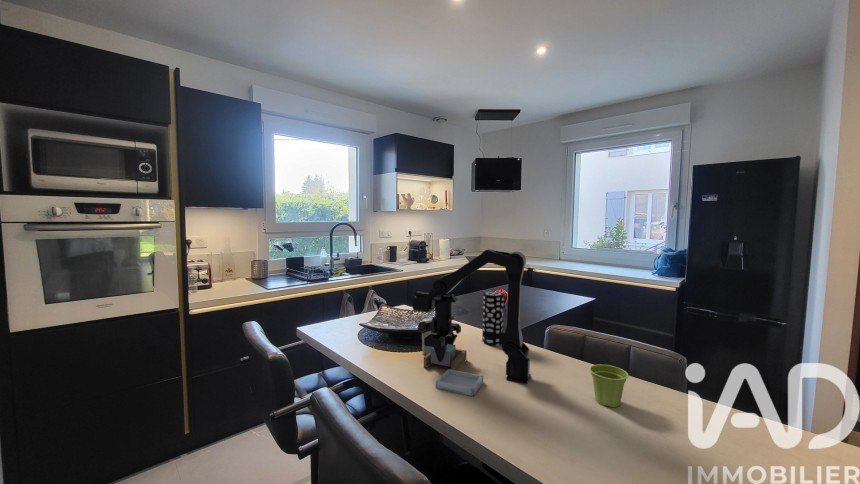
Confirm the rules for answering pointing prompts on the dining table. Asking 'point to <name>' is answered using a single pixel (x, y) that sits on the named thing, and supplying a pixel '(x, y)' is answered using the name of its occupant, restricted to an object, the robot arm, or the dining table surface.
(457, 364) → the bay
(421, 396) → the dining table surface
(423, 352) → the skincare box
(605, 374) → the plant pot
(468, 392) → the tray
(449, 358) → the teal rectangular block
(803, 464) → the dining table surface
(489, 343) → the spotted tube
